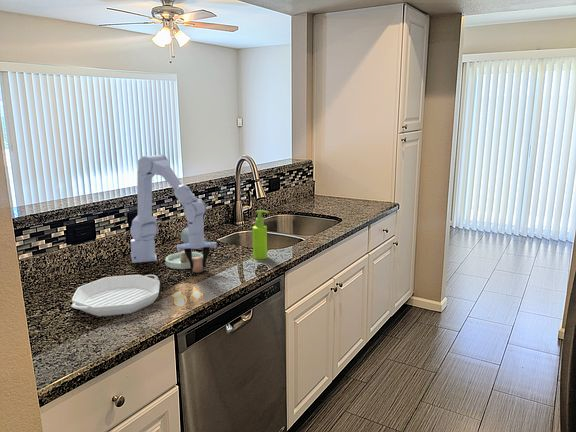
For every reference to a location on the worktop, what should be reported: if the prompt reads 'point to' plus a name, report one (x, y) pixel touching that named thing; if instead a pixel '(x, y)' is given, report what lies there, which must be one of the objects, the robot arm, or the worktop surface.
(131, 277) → the pan
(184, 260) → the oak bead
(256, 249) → the soap dispenser
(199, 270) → the peach rounded oval piece
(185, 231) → the ceramic mug
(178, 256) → the groove tray
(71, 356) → the worktop surface
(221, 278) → the worktop surface
